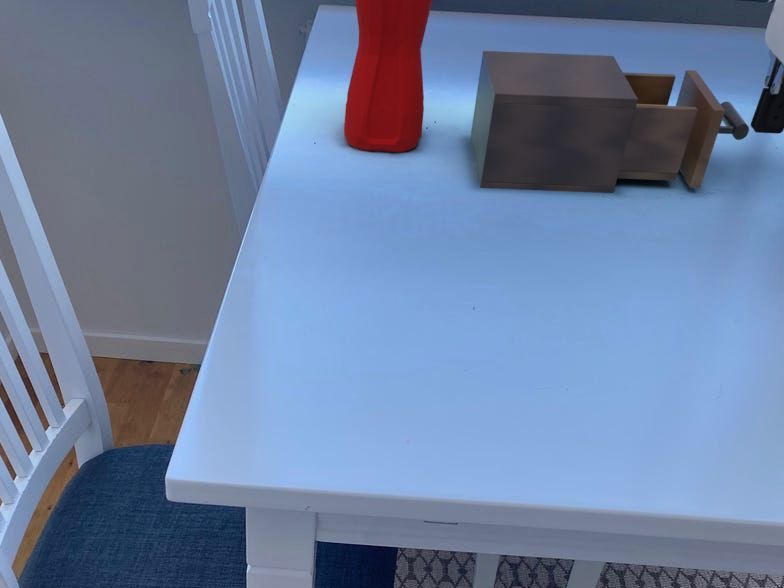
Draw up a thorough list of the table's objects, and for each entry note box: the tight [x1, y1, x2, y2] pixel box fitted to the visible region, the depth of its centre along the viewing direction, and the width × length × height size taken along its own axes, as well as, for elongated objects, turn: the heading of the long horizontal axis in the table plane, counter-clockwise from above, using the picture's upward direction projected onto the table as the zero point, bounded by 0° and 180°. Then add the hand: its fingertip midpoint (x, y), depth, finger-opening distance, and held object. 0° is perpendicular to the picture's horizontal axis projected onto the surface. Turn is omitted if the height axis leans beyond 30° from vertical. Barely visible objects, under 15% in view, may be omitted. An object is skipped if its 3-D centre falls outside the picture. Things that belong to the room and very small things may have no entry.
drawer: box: [617, 69, 750, 189], centre depth 105 cm, size 18×13×8 cm
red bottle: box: [343, 0, 434, 154], centre depth 105 cm, size 9×11×25 cm
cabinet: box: [469, 50, 638, 194], centre depth 105 cm, size 15×14×10 cm
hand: (765, 129), depth 105 cm, fingers closed
